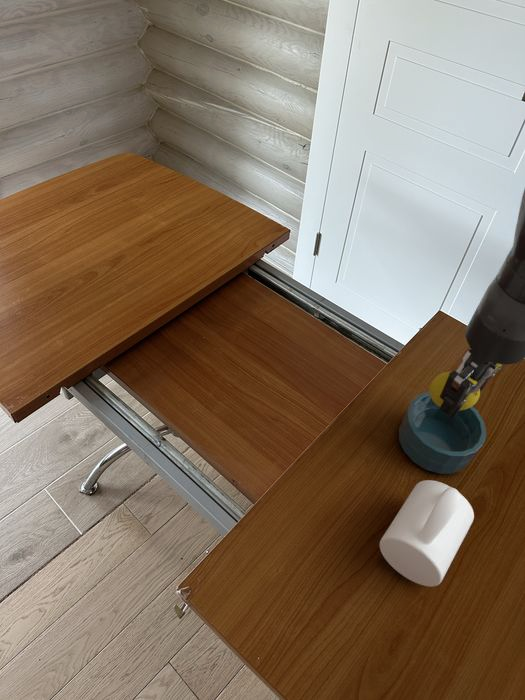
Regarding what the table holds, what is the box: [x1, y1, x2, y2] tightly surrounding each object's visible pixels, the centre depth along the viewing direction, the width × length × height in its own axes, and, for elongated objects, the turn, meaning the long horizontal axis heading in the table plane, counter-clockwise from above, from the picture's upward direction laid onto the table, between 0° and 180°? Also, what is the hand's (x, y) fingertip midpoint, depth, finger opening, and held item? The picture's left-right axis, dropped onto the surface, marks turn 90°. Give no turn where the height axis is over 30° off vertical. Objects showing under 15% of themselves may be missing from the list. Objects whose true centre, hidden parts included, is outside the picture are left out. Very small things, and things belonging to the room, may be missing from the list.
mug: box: [379, 479, 475, 588], centre depth 65 cm, size 8×10×12 cm
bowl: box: [398, 391, 487, 475], centre depth 78 cm, size 11×12×6 cm
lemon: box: [428, 370, 481, 411], centre depth 72 cm, size 6×6×8 cm
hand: (459, 401), depth 72 cm, fingers closed on lemon, 5 cm apart
